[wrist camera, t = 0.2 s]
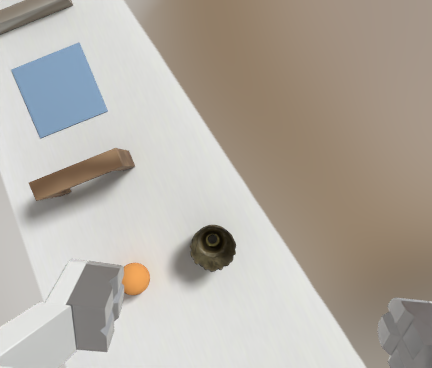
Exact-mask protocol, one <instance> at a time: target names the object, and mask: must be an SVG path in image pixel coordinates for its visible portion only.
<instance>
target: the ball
mask: <svg viewBox="0 0 432 368" xmlns="http://www.w3.org/2000/svg"><path fill="white" fill-rule="evenodd" d="M149 281H150V275H149V272H148V270H147V268H146V267H145V266H143V265H142V264H139V263H131V264H128V265H126V266H125V267H124V276H123V279H122V282H121V283H122V284H123V285H124V293H126V294H128V295H137V294H140V293H142V292H143V291H144V290H145V289H146V288H147V287H148V285H149Z"/></svg>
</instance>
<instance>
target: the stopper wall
mask: <svg viewBox="0 0 432 368" xmlns="http://www.w3.org/2000/svg"><path fill="white" fill-rule="evenodd" d="M72 5H73V4H72V1H71V0H25V1H22V2H20V3H17V4H15V5H12V6H10V7H7V8H5V9H2V10H0V34H2V33H5V32H7V31H10V30H12V29H15V28H17V27H20V26H22V25H25V24H27V23H30V22H32V21H35V20H37V19H40V18H42V17H45V16H47V15H50V14H52V13H55V12H57V11H60V10H62V9H65V8H67V7H70V6H72Z"/></svg>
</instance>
